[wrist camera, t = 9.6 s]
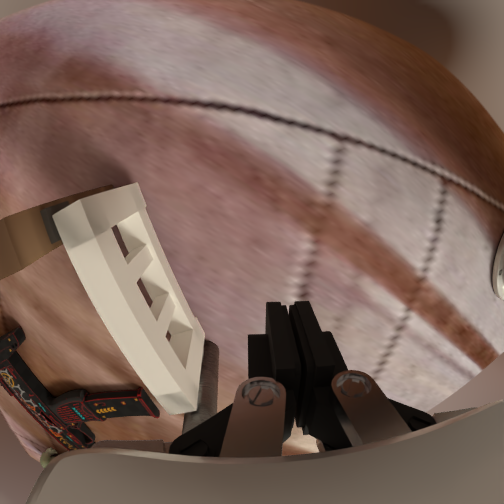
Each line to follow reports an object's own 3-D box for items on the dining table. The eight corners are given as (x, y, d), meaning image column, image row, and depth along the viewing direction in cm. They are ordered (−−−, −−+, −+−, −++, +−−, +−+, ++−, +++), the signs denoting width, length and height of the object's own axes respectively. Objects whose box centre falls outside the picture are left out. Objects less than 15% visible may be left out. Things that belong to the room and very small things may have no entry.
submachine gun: (229, 482, 32) (111, 492, 32) (228, 464, 35) (114, 478, 36) (64, 306, 21) (-29, 359, 21) (80, 290, 25) (-17, 346, 25)
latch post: (116, 182, 21) (8, 214, 8) (125, 210, 21) (27, 267, 9) (89, 194, 21) (-21, 235, 8) (98, 220, 21) (-4, 281, 9)
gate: (137, 182, 20) (79, 199, 11) (208, 340, 24) (201, 416, 16) (116, 192, 20) (51, 215, 11) (188, 345, 25) (174, 421, 16)
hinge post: (215, 336, 26) (209, 476, 12) (225, 358, 26) (225, 492, 13) (187, 342, 26) (164, 478, 12) (198, 363, 26) (185, 494, 13)
